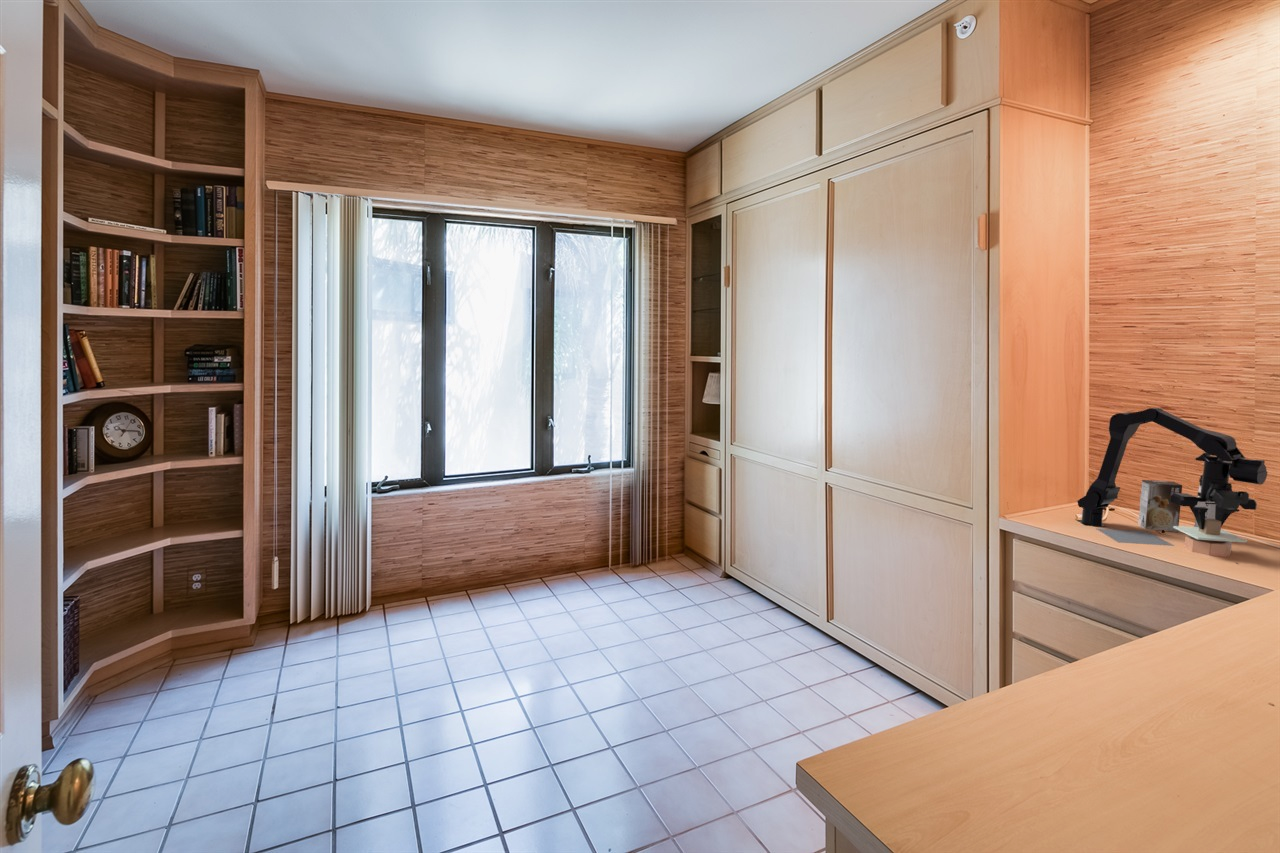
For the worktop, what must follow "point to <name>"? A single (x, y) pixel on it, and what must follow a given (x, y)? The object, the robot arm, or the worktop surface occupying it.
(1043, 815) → the worktop surface
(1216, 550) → the bowl
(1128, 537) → the mat
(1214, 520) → the lid
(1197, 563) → the worktop surface
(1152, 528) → the coffee box
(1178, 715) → the worktop surface
